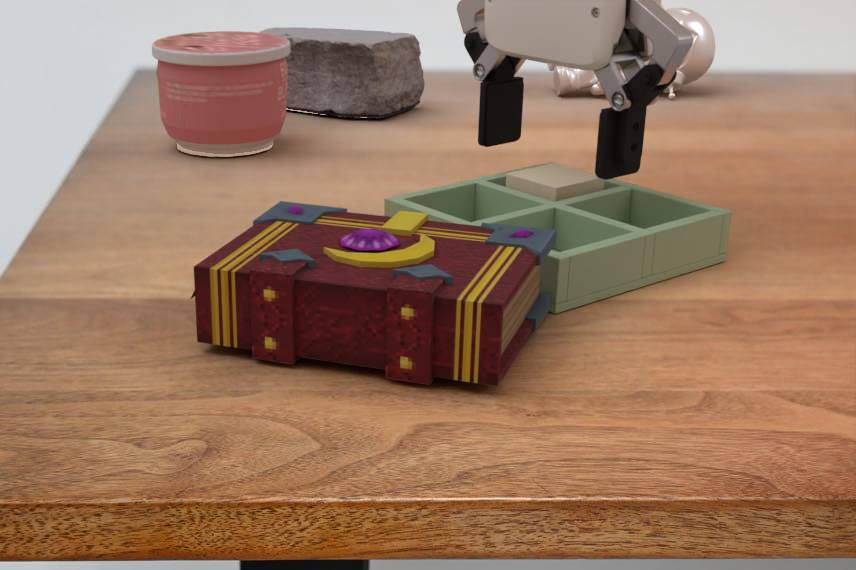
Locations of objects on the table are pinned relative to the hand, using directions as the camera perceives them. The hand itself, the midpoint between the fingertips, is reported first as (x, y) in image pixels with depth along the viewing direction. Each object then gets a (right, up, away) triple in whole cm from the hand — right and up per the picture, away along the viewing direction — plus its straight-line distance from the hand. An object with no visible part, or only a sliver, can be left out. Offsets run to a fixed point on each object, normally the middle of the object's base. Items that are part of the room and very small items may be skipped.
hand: (555, 158), depth 76 cm
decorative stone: (-13, +10, +34) cm, 38 cm away
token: (0, -4, +2) cm, 4 cm away
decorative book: (-12, -11, -13) cm, 21 cm away
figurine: (+14, +13, +41) cm, 45 cm away
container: (-22, +4, +22) cm, 31 cm away
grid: (-1, -6, -2) cm, 6 cm away
